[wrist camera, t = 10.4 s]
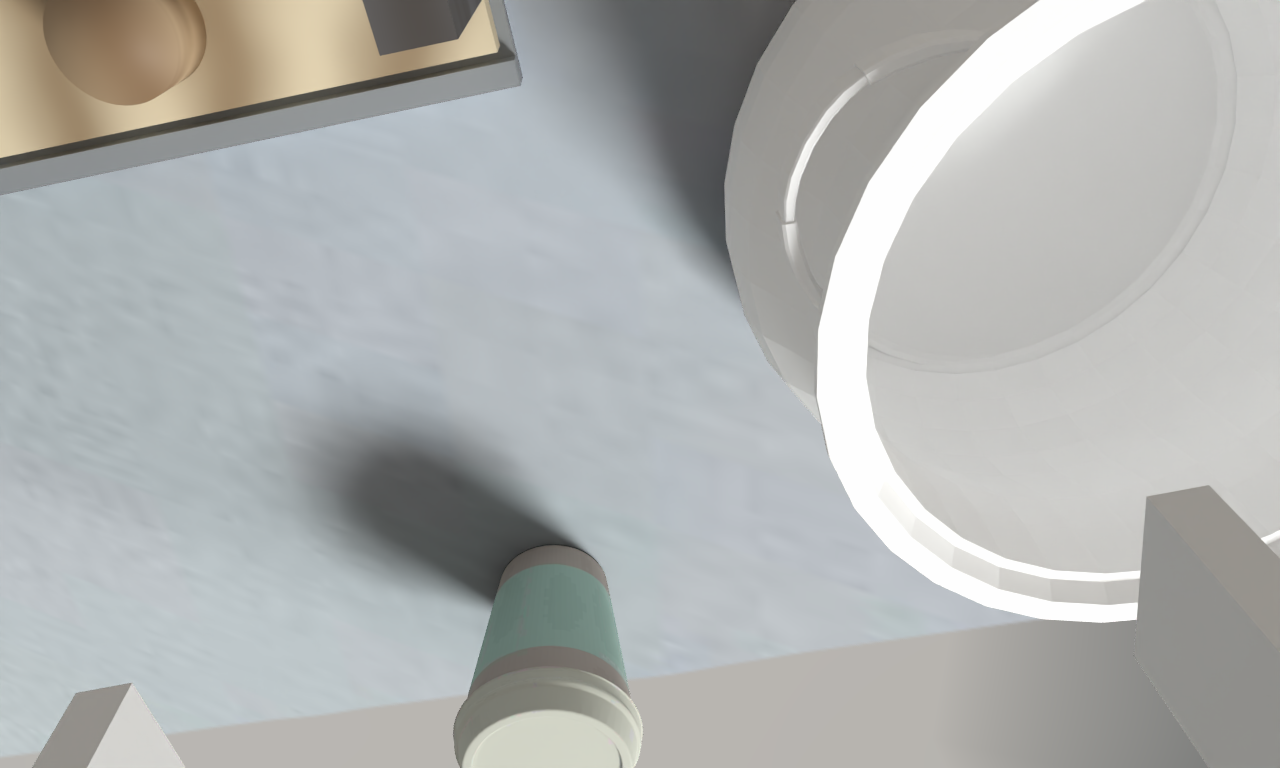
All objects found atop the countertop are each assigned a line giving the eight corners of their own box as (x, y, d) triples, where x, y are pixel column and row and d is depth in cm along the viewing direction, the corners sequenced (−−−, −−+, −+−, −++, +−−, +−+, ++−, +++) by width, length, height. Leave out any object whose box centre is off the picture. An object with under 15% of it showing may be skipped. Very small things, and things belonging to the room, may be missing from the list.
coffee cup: (468, 637, 55) (441, 828, 44) (481, 515, 51) (455, 692, 40) (619, 650, 56) (628, 839, 45) (644, 531, 52) (660, 708, 41)
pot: (1409, 11, 40) (1878, 112, 26) (1061, 466, 51) (1254, 721, 36) (882, -295, 34) (1105, -391, 20) (610, 293, 45) (624, 516, 30)
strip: (-5, 153, 40) (-168, 241, 31) (-102, -30, 36) (-315, 12, 28) (500, 45, 39) (476, 106, 30) (449, -154, 35) (406, -150, 27)
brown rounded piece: (116, 97, 37) (81, 117, 35) (59, -24, 35) (17, -12, 33) (225, 72, 37) (199, 90, 35) (175, -51, 35) (142, -41, 32)
